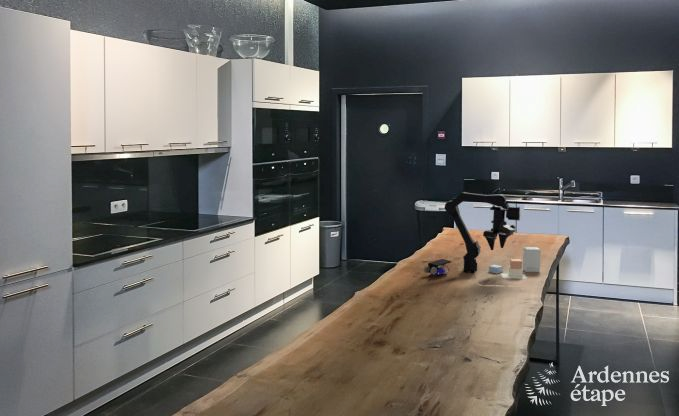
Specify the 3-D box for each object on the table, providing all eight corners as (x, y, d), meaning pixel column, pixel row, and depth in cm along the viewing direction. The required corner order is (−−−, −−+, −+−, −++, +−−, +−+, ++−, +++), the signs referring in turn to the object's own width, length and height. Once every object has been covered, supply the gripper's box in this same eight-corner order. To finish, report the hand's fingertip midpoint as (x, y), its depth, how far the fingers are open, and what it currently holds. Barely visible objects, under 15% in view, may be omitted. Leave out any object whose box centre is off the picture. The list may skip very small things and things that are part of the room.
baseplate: (502, 279, 332) (502, 277, 332) (500, 274, 342) (500, 273, 342) (527, 280, 331) (527, 278, 331) (524, 275, 341) (524, 274, 341)
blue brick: (488, 273, 346) (488, 266, 345) (494, 272, 349) (494, 264, 349) (496, 275, 342) (497, 267, 342) (502, 273, 345) (502, 266, 345)
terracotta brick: (509, 266, 340) (510, 258, 339) (520, 267, 339) (520, 259, 339) (511, 268, 335) (511, 261, 334) (521, 269, 334) (522, 261, 334)
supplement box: (539, 273, 347) (541, 249, 345) (525, 273, 347) (526, 249, 345) (536, 270, 354) (537, 246, 352) (521, 270, 354) (523, 246, 352)
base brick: (510, 276, 335) (510, 269, 334) (508, 274, 341) (508, 266, 340) (522, 277, 334) (522, 269, 334) (520, 274, 340) (521, 266, 340)
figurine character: (433, 281, 333) (452, 273, 343) (433, 266, 331) (452, 259, 341) (423, 279, 338) (441, 271, 348) (422, 264, 336) (441, 257, 346)
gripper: (502, 222, 329) (500, 254, 331) (522, 219, 342) (520, 249, 344) (483, 219, 337) (481, 250, 339) (503, 216, 350) (501, 246, 352)
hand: (497, 249), depth 344 cm, fingers open, 9 cm apart
